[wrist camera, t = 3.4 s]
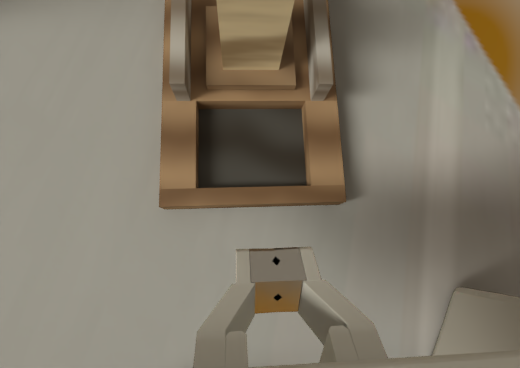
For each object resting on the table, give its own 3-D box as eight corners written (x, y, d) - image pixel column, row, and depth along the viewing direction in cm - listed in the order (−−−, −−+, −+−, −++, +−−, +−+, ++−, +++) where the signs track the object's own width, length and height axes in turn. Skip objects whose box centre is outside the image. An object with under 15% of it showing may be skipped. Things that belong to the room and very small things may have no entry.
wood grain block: (294, 89, 28) (324, 8, 18) (207, 89, 27) (189, 5, 17) (289, 14, 29) (314, -99, 19) (206, 12, 28) (190, -105, 19)
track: (338, 204, 28) (359, 196, 23) (165, 209, 27) (148, 201, 22) (311, -109, 35) (323, -166, 30) (173, -116, 34) (161, -177, 29)
